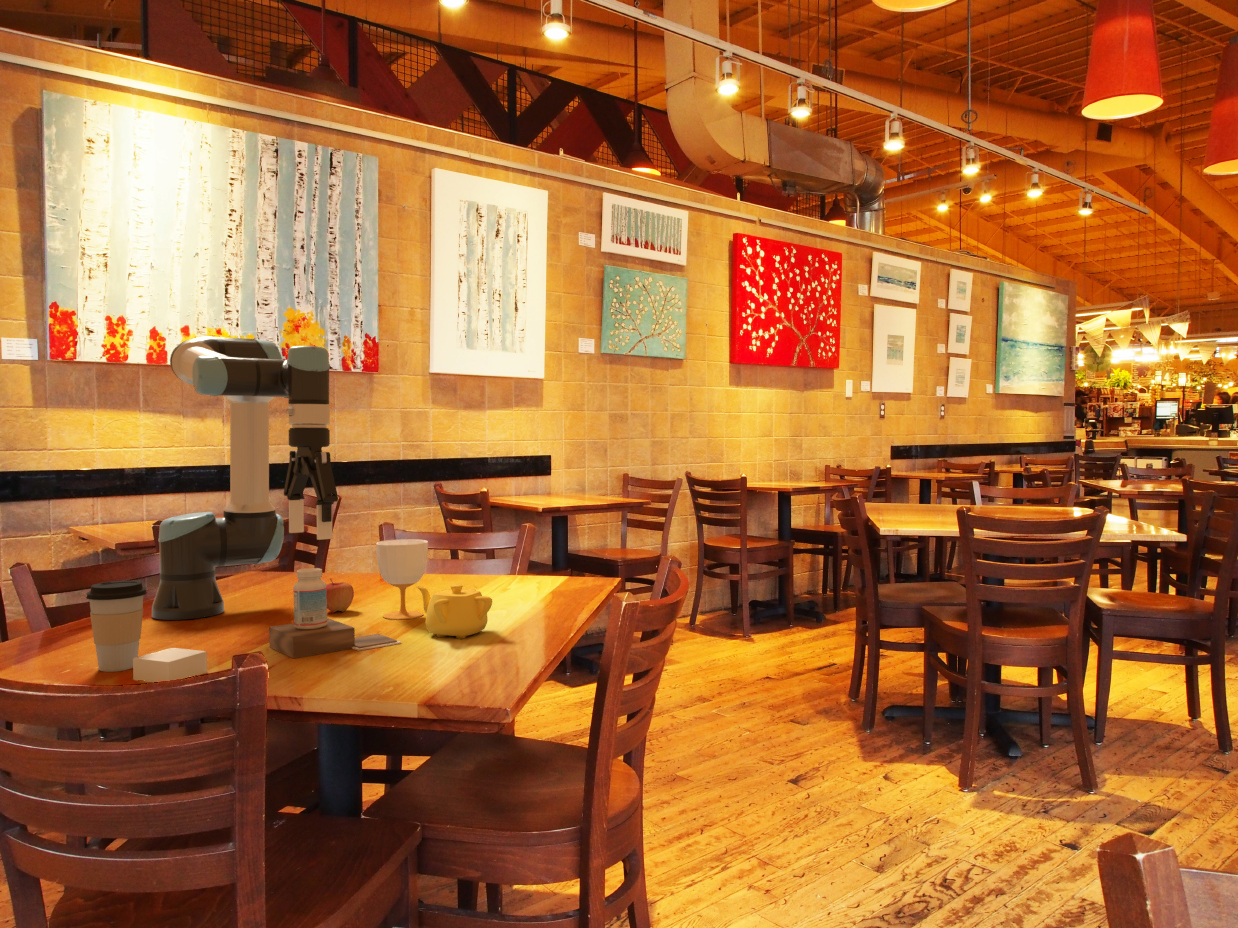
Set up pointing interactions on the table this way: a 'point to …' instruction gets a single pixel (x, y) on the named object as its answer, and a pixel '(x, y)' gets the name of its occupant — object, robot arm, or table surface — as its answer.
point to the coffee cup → (116, 622)
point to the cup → (402, 568)
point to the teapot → (455, 611)
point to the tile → (373, 642)
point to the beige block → (169, 665)
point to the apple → (339, 596)
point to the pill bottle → (310, 599)
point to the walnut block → (311, 639)
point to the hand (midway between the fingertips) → (310, 535)
